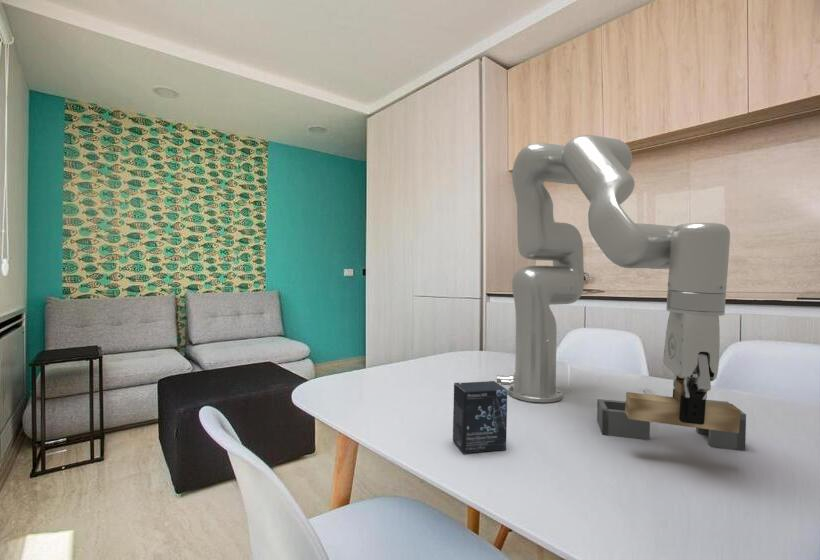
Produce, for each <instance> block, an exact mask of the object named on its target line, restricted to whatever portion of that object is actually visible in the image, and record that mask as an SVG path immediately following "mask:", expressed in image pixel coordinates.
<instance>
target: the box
mask: <svg viewBox="0 0 820 560" xmlns="http://www.w3.org/2000/svg"><path fill="white" fill-rule="evenodd" d="M452 413H453V415H452V416H453V417H452V441H453V442H454V444H455V445H456V447H457V448H458V449H459V451H460V452H461V453H462V454H463V455H465V454H469V453H470V454H471V453H472V454H473V453H481V452H493V451H506V449H507V426H508V425H507V417H508V389H507V388H506V387H504V385H501V384H500V383H497V381H495V380H490V381H472V382H471V381H470V382H454V383H453V412H452Z"/></svg>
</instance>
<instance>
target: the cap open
mask: <svg viewBox="0 0 820 560" xmlns="http://www.w3.org/2000/svg"><path fill="white" fill-rule="evenodd" d="M596 406H597V411H596V412H597V413H596V421H597V425H598V426H599V429H601V430H600V432H601V434H602V435H603V436H614V437H623V438H630V439H631V438H632V439H640V440H648V441H649V440H650V438H651V437H650V435H651V422H648V421H640V420H633V419H628V417H627V415H626V413H625V406H626V400H625V401H623V400H613V399H602V398H597V405H596Z"/></svg>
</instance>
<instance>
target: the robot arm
mask: <svg viewBox="0 0 820 560" xmlns="http://www.w3.org/2000/svg"><path fill="white" fill-rule="evenodd" d="M632 162H633V154H632V151H631V148H630V146H629V145H628V144H627V143H625V142H624V141H622V140H620V139H616V138H612V137H606V136H605V137H604V136H600V135H592V134H583V135H578V136H575V137H573V138H571V139H570V140H568V142H567V143H565V145H560V144H557V143H556V144H555V143H547V142H537V143H531V144H527V145H526V146H524V147H523V148H522V149H520V151H519V152H518V153H517V156H516V157H515V159H514V162H513V166H512V167H513V168H512V172H511V173H512V175H511V177H512V178H511V179H512V185H513V191H514V197H515V202H516V224H517V225H516V227H517V228H516V231H517V234H516V235H517V248H518V252H519V255H520V256H521V257H522V258H524V259H526V260H531V261H551V262H552V265H527V266H524V267H522V268H520V269H518V270H516V272H515V274H514V275H513V277H512V279H511V280H512V281H511V288H512V295H513V300H514V309H515V360H514V361H515V363H514V364H515V365H514V366H515V371H514V373H513V374H511V375H509V376H505V375H496V383H498V384H500V385H501V386H509V387H508V394H509V396H511V397H512V398H514V399H517V400H521V401H524V402H532V403H542V404H543V403H554V402H559V401H561V400H562V399H563V392H562V391H561V390H560V389H558V388H557V386H556V385H557V336H558V335H557V329H558V328H557V320H556V318H555V315H554V313H553V311H552V310H551V307H550V306H551V305H569V304H574V303H576V302H577V301H579V299H580V298H581V297H582V295H583V291H584V284H585V281H584V280H585V279H584V278H585V277H584V276H585V271H584V270H585V269H584V267H585V266H584V243H583V238H582V237H583V236H582V235H581V233H580V231H579V229H578V228H577V227H576V226H575V225H574V224H570V223H567V222H557V221H555V218H554V203H553V199H552V197H551V195H550V194H551V193H550V192H549V190H548V189H547V188H546V186H545V185H544V182H547V183H557V184H566V185H577V187H578V188H579V190H581V192H582V194H583V195H584V196H585V198H586V200H588V203H589V204H590V205H589V209H588V212H587V213H588V214H587V223H588V228H589V232H590V235H591V237H592V238H593V240H594V241H595V242H596V244H597V246H598V247H599V248H600V250H601V251H602V253H603V254H604V256H605V257H606V258H608V260H609V261H611V262H612V264H614V265H616V266H618V267H621V268H625V269H649V270H651V269H652V270H668V280H667V281H668V282H667V296H666V308H665V309H666V310H665V311H667V312H669V315H668V319H667V325H666V331H665V340H664V349H663V359H662V363H663V365H664V366H665V367H666V368H667V369H669V371H671V372H672V373H673V383H672V384H673V389H672V397H674V389H675V379H678V380H684V392H683V394H684V396H681V400H680V415H679V419H680V421H681V422H683V423H691V424H700V425H703V424H704V420H705V406H706V400H708V398H707V397H708V392H709V391H711V389H712V384H711V383H712V382H713V381H715V380H716V379H717V378H718V373H719V366H720V345H721V344H720V342H721V341H720V339H721V338H720V337H721V336H720V334H721V333H720V317H721V316H725V313H726V312H725V311H726V296H727V283H728V272H729V271H728V270H729V259H730V258H729V256H730V244H731V231H730V229H729V227H728V226H727V225H725V224H722V223H716V222H693V223H692V222H690V223H682V224H678V225H676V226H675V225H663V224H655V223H654V224H652V223H639V222H638V223H635V221H633V220H632V218H630V217H629V215H628V214H627V212H625V210H624V209H623V208H622V206H621V205H622V204H623V203H624V202H625V201H626V200H627V199H628V198H629V197H630V196H631V195H632V193H633V191H634V188H635V179H634V176H632V174H631V173H630V172H629V171H630V168H631V166H632ZM690 382H696V384H692V385H691V387H690Z"/></svg>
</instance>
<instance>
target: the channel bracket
mask: <svg viewBox="0 0 820 560" xmlns="http://www.w3.org/2000/svg"><path fill="white" fill-rule="evenodd" d="M706 401H712V402H720V403H729V404H731V403H730V402H729V401H727V400H726V401H725V400H714V399H706ZM746 430H747V414H746V413H745V412H744V411H742V410H741V413H740V426H739V433H734V432H726V431H718V430H710V429H703V428H695V433H697V434H700V435H708V440H707V441H708V442H707V444H708V445H709V446H710V447H712V448H720V449H729V450H736V451H737V450H739V451H746V440H747V439H746V436H747V435H746V434H747V431H746Z"/></svg>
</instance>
